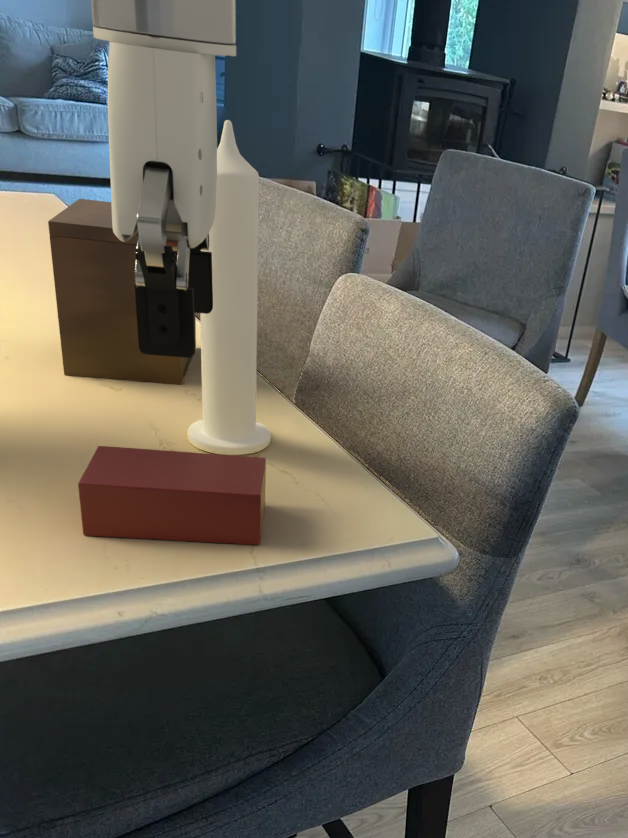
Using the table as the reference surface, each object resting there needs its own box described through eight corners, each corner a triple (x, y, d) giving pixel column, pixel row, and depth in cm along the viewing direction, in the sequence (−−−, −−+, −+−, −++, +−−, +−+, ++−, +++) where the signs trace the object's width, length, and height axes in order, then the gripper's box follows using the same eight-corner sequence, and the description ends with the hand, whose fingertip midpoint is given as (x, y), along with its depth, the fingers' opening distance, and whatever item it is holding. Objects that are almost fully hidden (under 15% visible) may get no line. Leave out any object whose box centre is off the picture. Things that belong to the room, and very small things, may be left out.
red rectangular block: (260, 545, 63) (260, 495, 61) (83, 535, 61) (77, 483, 59) (265, 504, 68) (266, 456, 66) (102, 494, 66) (98, 444, 64)
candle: (222, 417, 82) (219, 112, 68) (286, 438, 79) (296, 127, 66) (170, 439, 76) (156, 112, 63) (237, 463, 74) (237, 128, 60)
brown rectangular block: (63, 374, 85) (47, 221, 78) (91, 337, 95) (79, 198, 88) (181, 384, 87) (176, 235, 80) (196, 347, 97) (193, 211, 90)
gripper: (123, 9, 54) (142, 292, 64) (50, 2, 40) (87, 370, 49) (247, 26, 56) (248, 302, 65) (220, 26, 41) (225, 380, 50)
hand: (179, 331), depth 57 cm, fingers open, 9 cm apart
